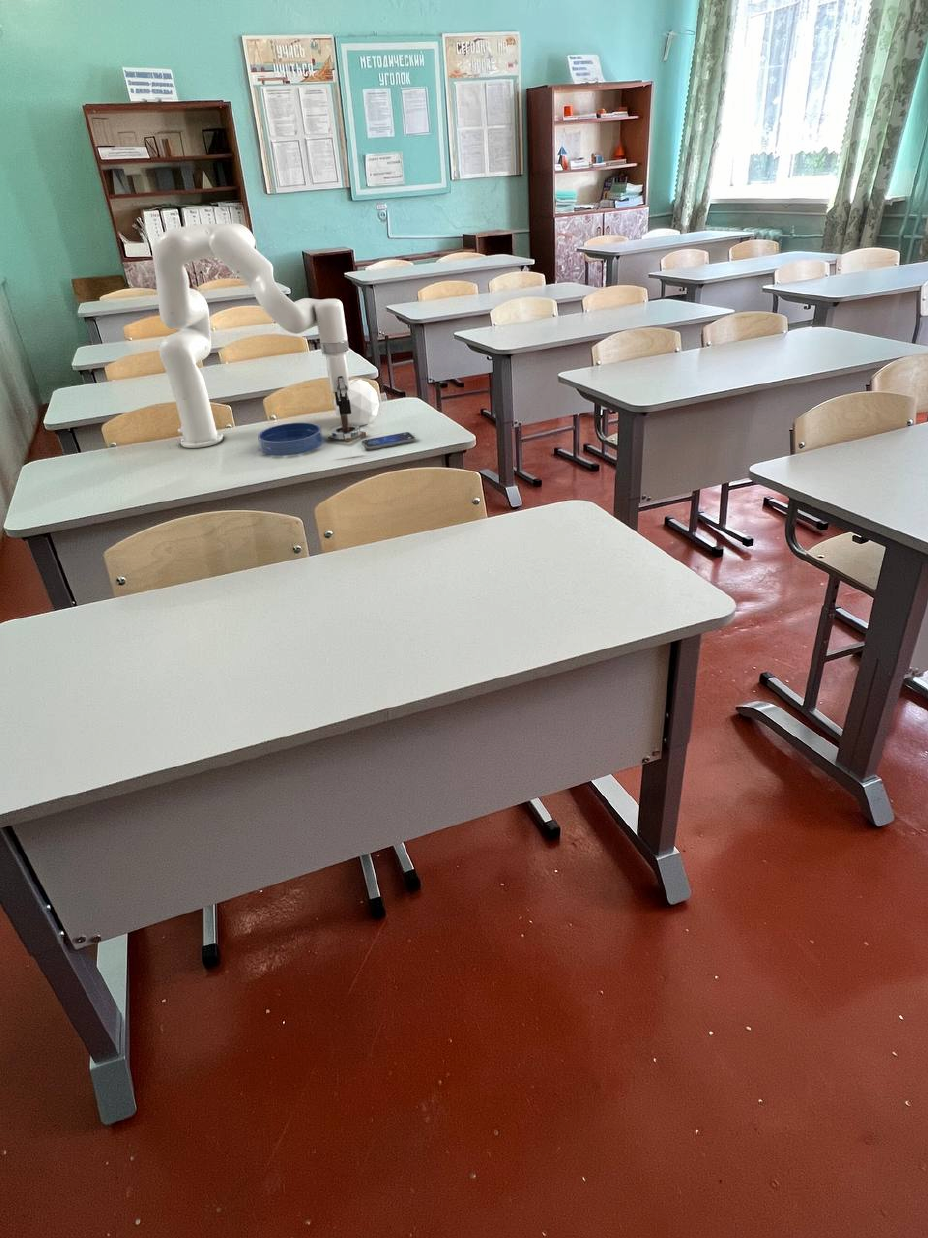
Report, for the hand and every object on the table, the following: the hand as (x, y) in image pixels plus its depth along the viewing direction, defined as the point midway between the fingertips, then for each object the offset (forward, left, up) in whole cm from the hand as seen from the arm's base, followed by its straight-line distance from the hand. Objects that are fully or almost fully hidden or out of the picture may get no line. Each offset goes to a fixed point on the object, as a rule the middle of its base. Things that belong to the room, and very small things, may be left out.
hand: (343, 409), depth 217 cm
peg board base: (-3, +2, -10) cm, 10 cm away
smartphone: (+11, +4, -10) cm, 16 cm away
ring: (-2, +2, -8) cm, 9 cm away
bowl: (-14, -10, -10) cm, 19 cm away
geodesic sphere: (-9, +15, -10) cm, 20 cm away
